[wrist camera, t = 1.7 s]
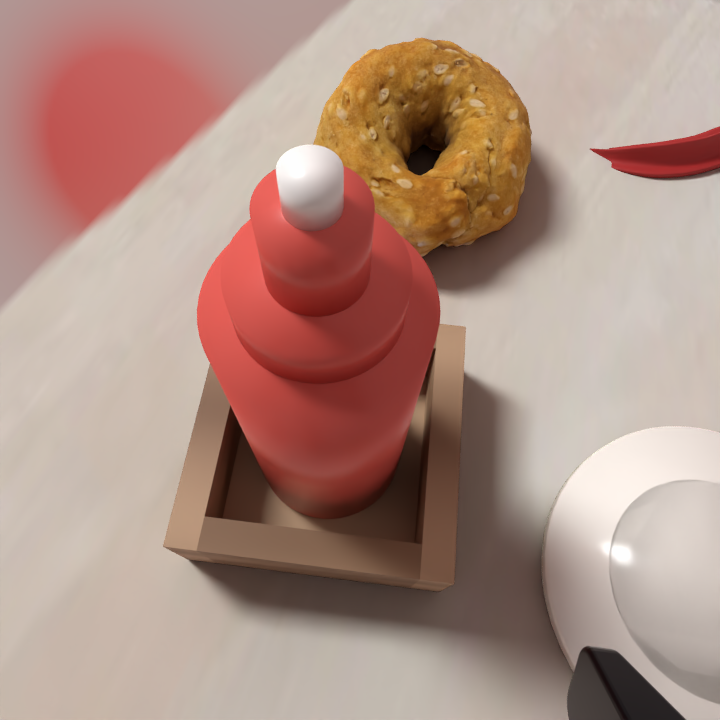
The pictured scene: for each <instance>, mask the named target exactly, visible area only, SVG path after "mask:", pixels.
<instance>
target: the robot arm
mask: <svg viewBox="0 0 720 720" xmlns="http://www.w3.org/2000/svg"><path fill="white" fill-rule="evenodd" d="M567 709H568V717H569V720H686V719H685V718H684V717H683V716H682V715H681V714H680V713H679V712H678V711H677V710H676V709H675V708H674V707H673V706H672V705H671V704H670V703H669V702H668V701H667V700H666V699H665V698H664V697H663V696H662V695H661V694H660V693H659V692H658V691H657V690H656V689H655V688H654V687H653V686H652V685H651V684H650V683H649V682H648V681H647V680H646V679H645V678H644V677H643V676H642V675H641V674H640V673H639V672H638V671H637V670H636V669H635V668H634V667H633V666H632V665H631V664H630V663H629V662H628V661H627V660H626V659H625V658H624V657H623V656H622V655H621V654H620V653H619V652H617V651H616V650H613V649H609V648H602V647H594V646H585V647H583V648H582V650H581V651H580V653H579V656H578V660H577V663H576V666H575V670H574V673H573V677H572V680H571V683H570V687H569V690H568V696H567Z"/></svg>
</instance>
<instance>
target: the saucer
mask: <svg viewBox="0 0 720 720" xmlns="http://www.w3.org/2000/svg"><path fill="white" fill-rule="evenodd" d="M541 565H542V583H543V590H544V597H545V602H546V606H547V610H548V614H549V618H550V622H551V625H552V627H553V630H554V632H555V635H556V638H557V640H558V643H559V646H560V648H561V650H562V651H563V653H564V655H565V657H566V659H567V661H568V663H569V665H570V667H571V669H572V671H573V672H574V670H575V666H576V663H577V660H578V656H579V653H580V651H581V650H582V648H583V647H585V646H594V647H602V648H609V649H613V650H616V651H617V652H619V653H620V654H621V655H622V656H623V657H624V658H625V659H626V660H627V661H628V662H629V663H630V664H631V665H632V666H633V667H634V668H635V669H636V670H637V671H638V672H639V673H640V674H641V675H642V676H643V677H644V678H645V679H646V680H647V681H648V682H649V683H650V684H651V685H652V686H653V687H654V688H655V689H656V690H657V691H658V692H659V693H660V694H661V695H662V696H663V697H664V698H665V699H666V700H667V701H668V702H669V703H670V704H671V705H672V706H673V707H674V708H675V709H676V710H677V711H678V712H679V713H680V714H681V715H682V716H683V717H684V718H685V719H686V720H720V432H716V431H712V430H708V429H703V428H695V427H687V426H664V427H656V428H648V429H644V430H641V431H637V432H633V433H630V434H627V435H625V436H623V437H620V438H618V439H616V440H614V441H612V442H610V443H609V444H607V445H606V446H604V447H603V448H601V449H599V450H598V451H597V452H595V453H594V454H593V455H591V456H590V457H589V458H588V459H586V460H585V461H584V462H583V463H582V464H581V465H580V466H578V467H577V468H576V469H575V471H574V472H573V473H572V474H571V475H570V477H569V478H568V479H567V480H566V481H565V483H564V485H563V486H562V488H561V490H560V491H559V493H558V495H557V496H556V498H555V501H554V503H553V506H552V508H551V510H550V513H549V515H548V519H547V523H546V527H545V531H544V536H543V545H542V554H541Z"/></svg>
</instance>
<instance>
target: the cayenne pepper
mask: <svg viewBox="0 0 720 720" xmlns="http://www.w3.org/2000/svg"><path fill="white" fill-rule="evenodd" d="M590 150H592V151H593V152H595V153H597V154H599V155H600V156H602V157H604V158H606V159H607V160H609V161H611V162H612V168H614V169H616V170H618V171H621V172H625V173H629V174H632V175H638V176H643V177H651V178H673V177H684V176H691V175H695V174H700V173H704V172H707V171H710V170H714V169H717V168H720V127H717V128H714V129H711V130H709V131H706V132H703V133H701V134H698V135H695V136H690V137H686V138H681V139H675V140H669V141H663V142H657V143H648V144H640V145H631V146H624V147H616V148H609V149H590Z"/></svg>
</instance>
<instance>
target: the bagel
mask: <svg viewBox="0 0 720 720" xmlns="http://www.w3.org/2000/svg"><path fill="white" fill-rule="evenodd" d="M531 134H532V132H531V129H530V125H529V117H528V112H527V109H526V107H525V106H524V104H523V103H522V101H521V100H520V98H519V96H518V94H517V93H516V92H515V91H514V89H513V87H512V86H511V84H510V83H509V82H508V81H507V79H506V78H505V77H504V76H502V75H501V74H500V71H499V70H498V69H497V68H495V67H493V66H492V65H491V64H489V63H487V62H484V61H482V59H481V58H480V57H479V56H477V55H476V54H472V53H469V52H468V51H466V50H464V49H462V48H461V47H459V46H458V45H456V44H454V43H453V42H450V41H442V40H437V41H433V40H428V39H425V38H415V40H414V41H411V42H402V43H399V44H393V45H388V46H386V47H384V48H382V49H380V50H377V49H371V50H368V51H367V53H366V54H364V55H363V56H362V57H361V58H360V60H359V61H357V62H355V63H354V64H353V65H352V66H351V67H350V68H349V70H348V71H347V73H346V74H345V75H344V77H343V80H342V82H341V83H340V85H339V86H338V87H337V88H336V90H335V91H334V93H333V94H332V96H331V97H330V98H329V100H328V101H327V102H326V104H325V107H324V109H323V112H322V115H321V120H320V123H319V126H318V129H317V135H316V138H315V141H314V144H313V145H319V146H323V147H326V148H328V149H330V150H332V151H333V152H334V153H336V154H337V155H338V156H339V158H340V159H341V161H342V163H343V166H345V167H348V168H349V169H351V170H353V171H354V172H355V173H357V174H358V175H359V176H360V177H361V178H362V179H363V180H364V181H365V182H366V183H367V185H368V186H369V188H370V190H371V192H372V195H373V198H374V203H375V213H377V214H379V215H380V216H381V217H382V218H384V219H385V220H386V221H387V222H388V223H389V224H390V225H391V226H392V227H393V228H394V229H395V230H396V231H397V232H398V234H399V235H401V236H402V237H403V238H405V239H406V240H407V241H408V242H409V243H410V244H411V245H412V246H413V247H414V248H415V249H416V250H417V251H418V253H419V254H420V255H421V257H422V256H425V255H426V254H427V253H428V252H430V251H431V250H433V249H434V248H436V247H438V246H439V245H441V244H444V245H446V246H455V247H457V246H460V245H470V244H472V243H473V242H474V241H475V240H476V239H478V238H479V237H481V236H483V235H486V234H488V233H490V232H492V231H498V230H500V229H501V228H502V227H503V226H505V225H506V224H508V223H509V222H510V221H511V220H512V219H513V218H514V217H515V216H516V214H517V210H518V203H519V199H520V196H521V194H522V193H523V190H524V186H525V176H526V173H527V168H528V165H529V163H530V161H531ZM421 145H427V146H428V147H429V148H430V149H433V150H439V151H442V153H441V154H440V156H439V158H438V160H437V161H436V163H435V165H434V167H433V169H431V170H429V171H428V172H427V173H425V174H423V175H421V176H420V175H416V174H414V173H412V172H411V171H409V169H408V166H407V164H406V163H407V161H408V159H409V156H410V153H412V152H414V151H416V150H418V148H419V147H420V146H421Z"/></svg>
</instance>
